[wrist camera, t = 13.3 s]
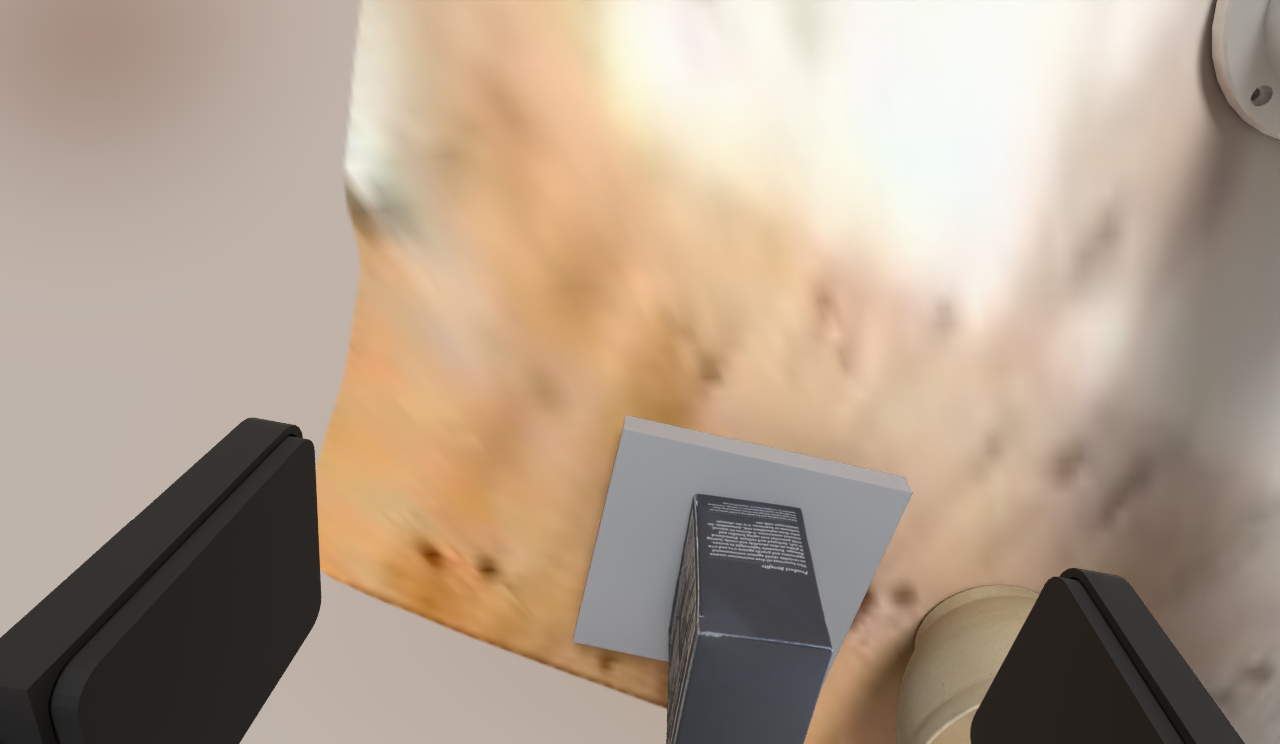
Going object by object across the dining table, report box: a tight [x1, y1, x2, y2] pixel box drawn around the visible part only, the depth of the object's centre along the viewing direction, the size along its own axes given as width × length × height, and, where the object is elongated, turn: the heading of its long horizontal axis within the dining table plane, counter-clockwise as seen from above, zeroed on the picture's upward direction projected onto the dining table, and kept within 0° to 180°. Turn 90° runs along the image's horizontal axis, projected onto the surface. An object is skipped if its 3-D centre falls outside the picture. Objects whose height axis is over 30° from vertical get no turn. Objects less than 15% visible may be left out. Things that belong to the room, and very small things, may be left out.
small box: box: [666, 494, 833, 744], centre depth 39 cm, size 11×6×10 cm, turn 173°
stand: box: [573, 415, 912, 686], centre depth 45 cm, size 16×16×4 cm
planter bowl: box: [896, 585, 1040, 744], centre depth 45 cm, size 16×16×11 cm
